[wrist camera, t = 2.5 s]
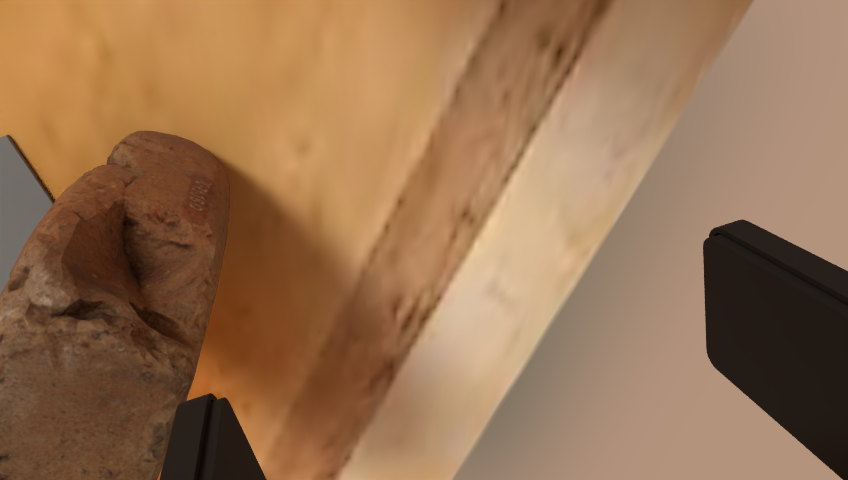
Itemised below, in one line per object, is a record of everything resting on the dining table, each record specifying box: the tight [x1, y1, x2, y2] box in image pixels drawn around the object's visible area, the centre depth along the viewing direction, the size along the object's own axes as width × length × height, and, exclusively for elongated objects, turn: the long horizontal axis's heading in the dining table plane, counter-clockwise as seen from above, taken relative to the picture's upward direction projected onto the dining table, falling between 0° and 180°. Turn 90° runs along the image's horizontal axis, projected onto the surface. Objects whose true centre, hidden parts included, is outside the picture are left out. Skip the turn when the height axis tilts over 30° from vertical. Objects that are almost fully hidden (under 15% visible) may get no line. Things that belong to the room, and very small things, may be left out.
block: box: [0, 131, 230, 480], centre depth 28 cm, size 11×8×20 cm
